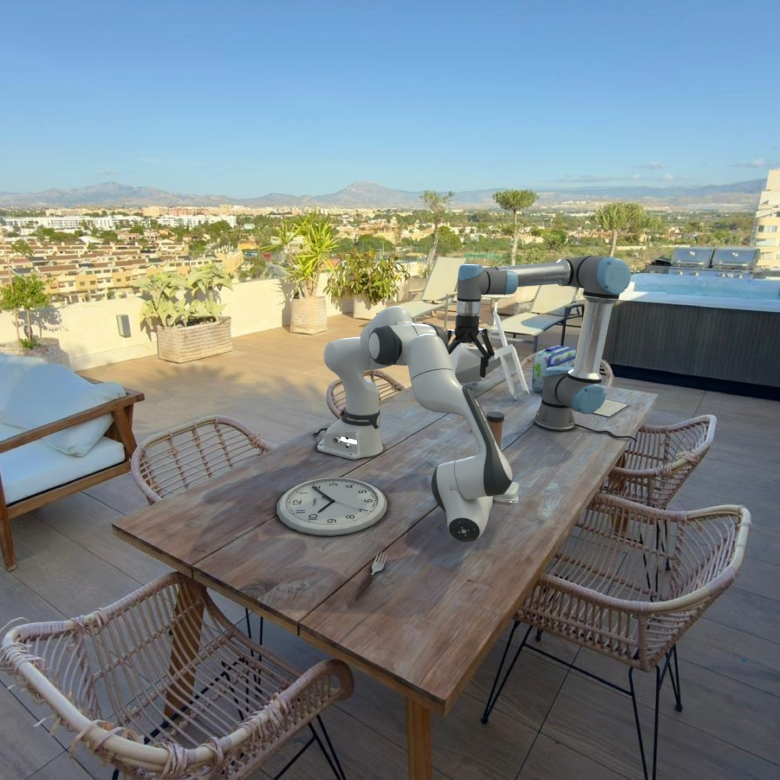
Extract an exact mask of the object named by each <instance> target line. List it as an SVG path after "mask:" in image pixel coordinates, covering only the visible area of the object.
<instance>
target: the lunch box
mask: <svg viewBox="0 0 780 780" xmlns="http://www.w3.org/2000/svg"><path fill="white" fill-rule="evenodd" d="M576 352H577V348H576V347H571V346H565V345H553V346H550V347H546V348H545V349H542V350H539V351H538V352H537V353H536V354H535V356H534V358H533V365H532V376H531V377H532V378H531V390H532V391H533V392H537V393H542V392H543V382H544V374H545V370H546V369H547V368H549V367H557V366H563V367H573V368H574V363H575V357H576Z"/></svg>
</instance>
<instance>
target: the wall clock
mask: <svg viewBox="0 0 780 780" xmlns="http://www.w3.org/2000/svg"><path fill="white" fill-rule="evenodd" d="M387 509H388V500H387V498H386V496H385V494H384V493H383V492H382V491H381V490H380V489H379V488H377V487H376V486H374V485H372V484H371V483H369V482H365V481H362V480H359V479H355V478H349V477H338V476H337V477H335V476H333V477H332V476H331V477H322V478H317V479H312V480H307V481H305V482H302V483H299V484H297V485H295V486H293V487H292V488H290V489H288V490H287V491H286V492H285V493H284V494H283V495H281V496H280V498H279V499H278V502H277V503H276V515H277V517H278V518H279V520H280V521H281V522H282V523H283V524H285V525H286V526H287V527H288V528H290V529H293V530H295V531H297V532H299V533H303V534H308V535H312V536H327V537H328V536H329V537H331V536H332V537H333V536H342V535H350V534H352V533H356V532H361V531H363V530H366V529H368V528H369V527H372V526H373V525H375V524H376V523H378V522H379V521H380V520H381V519H382V518H383V517H384V516H385V514H386V512H387Z"/></svg>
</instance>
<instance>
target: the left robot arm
mask: <svg viewBox="0 0 780 780" xmlns="http://www.w3.org/2000/svg"><path fill="white" fill-rule="evenodd" d="M445 332H446V330H444V329H443V328H442V327H440V326H438V325H434V324H431V323H427V322H422V323H414V321H413V318H412V315H411V314H410V312H409V311H408V310H407V309H405V308H404V307H402V306H398V305H393V306H389V307H387V308H385V309H383V310H381V311H380V312H379V313H377V314H376V315H375V316H373V318H372V319H370V321H369V322H368V323H367V324H366V325H364V327H362V330H361V332H360V336H356V337H355V336H354V337H344V338H339V339H335V340H332V341H330V342H328V343H327V344H326V346H325V348H324V349H323V350H324V351H323V361H324V364H325V366H326V367H327V368H328V370H330V371H331V372H332V373H333V374H335V375H336V376H337V377H338V378H339V379H340V381H341V382H342V385H343V389H344V395H345V396H344V397H345V406H343V409H341V410H340V412H339V413H338V418H340V419H338V420H336V421H335V422H334V423H333V424H331V425H328V426H325V427H323V428H319V430H318V431H317V432H314V433H313V436H314V435H315V436H318V435H320V433H321V432H323V431H324V436H323V438H322V439H321V440H320V441H319V442H318V444H317V446H316V447H317V451H319V452H322V453H326V454H329V455H333V456H336V457H341V458H345V459H349V460H359V459H361V458H368V457H369V458H370V457H374V456H377V455H379V454H381V453H382V452H383V450H384V446H383V442H382V438H381V430H380V426H381V409H380V389H379V387H378V385H377V384H376V383H375V382H373V381H372V380H369V379H367V378H365V376H364V372H365V371H374V370H381V369H387V368H388V367H392V366H401V367H402V366H405V367H407V368H408V374H409V381H410V384H411V389H412V393H413V396H414V398H415V400H416V402H417V403H418V405H420V407H422V408H424V409H426V410H428V411H431V412H435V413H441V414H451V415H458V416H461V417H463V418H464V419H465V420H466V422H467V423H468V426H469V428H470V431H471V432H472V435H473V438H474V439H475V441H476V444H477V447H478V449H479V452H478V453H477V454H475V455H471V456H466V457H462V458H459V459H453V460H450V461H446V462H443V463H439V464H438V465H437V466H436V467H435V469H434V471H433V473H432V476H431V484H430V485H431V492H432V494H433V495H432V496H433V497H434V501H435V502H436V503H437V505H438V506H439V507H440V508H441V509H442V511H443V512H445V514H446V527H447V531H448V533H449V535H450V536H451V537H452V538H453V539H454V540H456V541H457V542H461V543H472V542H475V541H477V540H478V539H479V538H480V537H481V536H482V535H483V533H484V532H485V530H486V528H487V525H488V521H489V518H490V513H491V511H492V507H493V505H498V506H506V507H511V506H513V505H518V503H519V494H520V484H519V483H518V482H517V481H514V476H513V469H512V467H511V465H510V463H509V461H508V458H506V456H505V454H504V453H503V450H502V449H501V447H500V446H499V444H498V442H497V440H496V438H495V436H494V433H493V431H492V429H491V427H490V425H489V422H488V420H487V415H486V414H485V412H484V410H483V407H482V405H481V404H480V402H479V399H478V398H477V396H476V394H475V393H474V392H473V390H472V389H471V388H469V387H467V386H463V385H462V383H459V382H458V380H457V378H456V376H455V373H454V369H453V365H452V362H451V359H450V357H451V355H449V353H448V347H449V345H450V341H448V337H447V334H446V333H445Z"/></svg>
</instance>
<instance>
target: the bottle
mask: <svg viewBox="0 0 780 780" xmlns="http://www.w3.org/2000/svg"><path fill="white" fill-rule="evenodd" d="M488 422H489V425H490V427H491V429H492V431H493V433H494V436H495V438H496V440H497V442H498V444H499V446H500V448H501V447H502V445H501V444H502V435H503V423H504V421H503V422H498V423H496V422H490V421H488Z"/></svg>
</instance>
